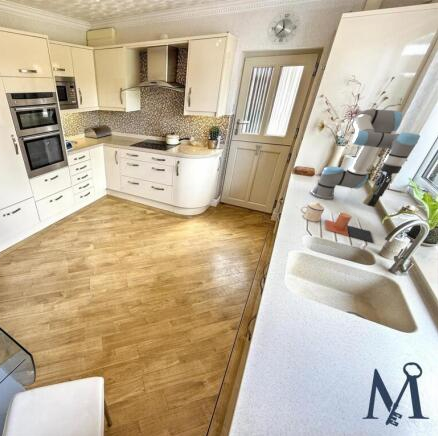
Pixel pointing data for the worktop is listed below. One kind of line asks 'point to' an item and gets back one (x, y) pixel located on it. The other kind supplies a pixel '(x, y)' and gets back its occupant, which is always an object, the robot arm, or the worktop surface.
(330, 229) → the terracotta mat
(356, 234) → the charcoal mat
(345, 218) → the copper-orange cylinder
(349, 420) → the worktop surface
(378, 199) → the olive rounded bottle shape
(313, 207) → the teacup with lid
